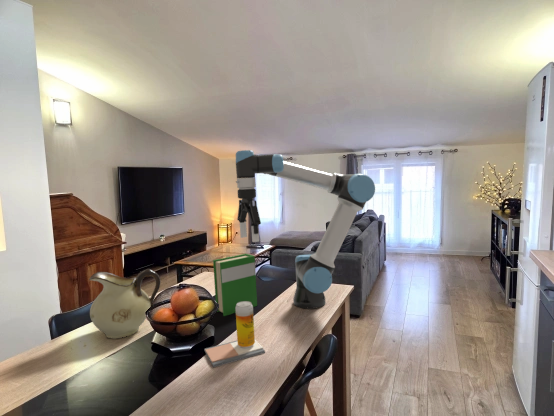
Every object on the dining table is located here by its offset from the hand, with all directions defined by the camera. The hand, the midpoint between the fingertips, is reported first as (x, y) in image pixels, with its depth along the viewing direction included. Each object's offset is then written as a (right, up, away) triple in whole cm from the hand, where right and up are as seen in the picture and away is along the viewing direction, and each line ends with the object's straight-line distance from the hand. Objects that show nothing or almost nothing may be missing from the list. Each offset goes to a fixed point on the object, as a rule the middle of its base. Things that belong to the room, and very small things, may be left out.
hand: (249, 239), depth 142 cm
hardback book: (-7, -34, +17) cm, 38 cm away
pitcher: (-51, -38, -2) cm, 64 cm away
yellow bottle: (+1, -36, -21) cm, 42 cm away
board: (-3, -37, -23) cm, 44 cm away
